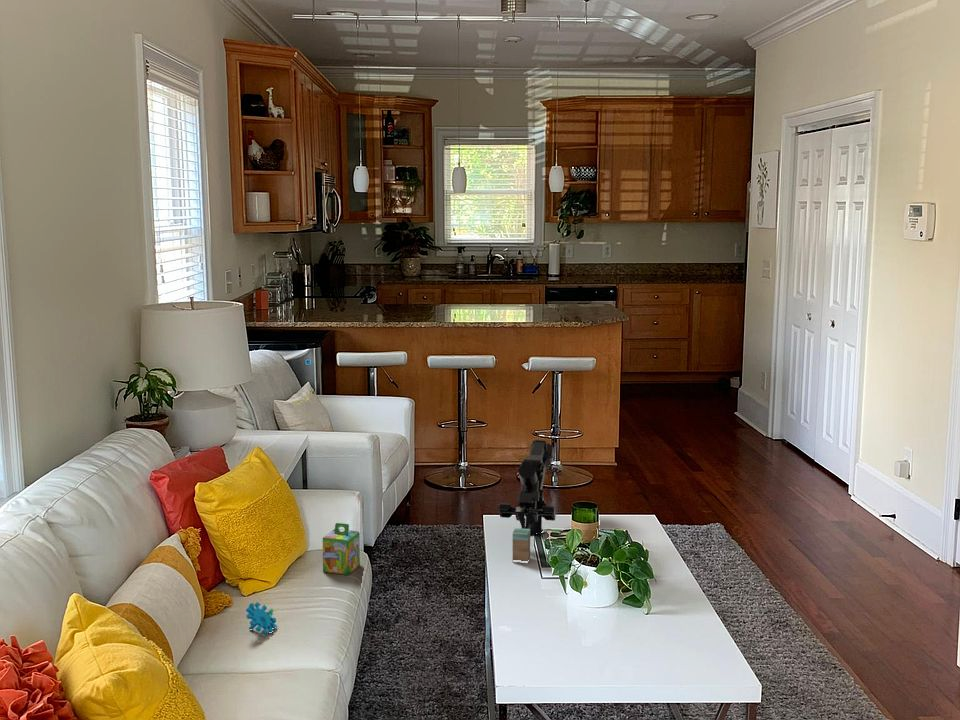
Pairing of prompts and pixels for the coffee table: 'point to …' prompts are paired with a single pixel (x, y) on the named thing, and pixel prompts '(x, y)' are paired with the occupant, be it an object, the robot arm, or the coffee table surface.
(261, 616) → the gear
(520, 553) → the block
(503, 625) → the coffee table surface
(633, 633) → the coffee table surface
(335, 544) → the chalk box
